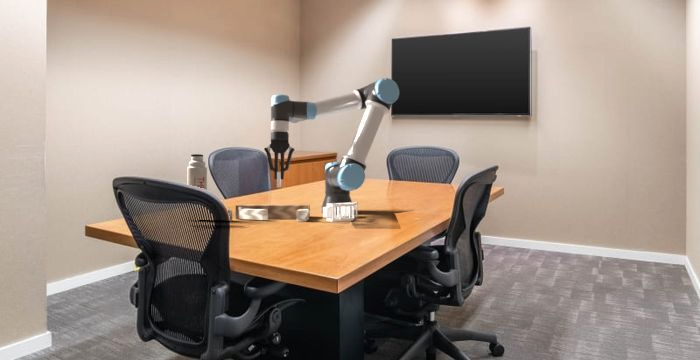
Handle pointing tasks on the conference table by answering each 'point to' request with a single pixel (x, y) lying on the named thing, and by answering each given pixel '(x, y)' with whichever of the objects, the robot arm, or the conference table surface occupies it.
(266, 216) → the folding leg
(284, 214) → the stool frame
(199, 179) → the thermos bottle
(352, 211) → the car outline toy
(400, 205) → the conference table surface
